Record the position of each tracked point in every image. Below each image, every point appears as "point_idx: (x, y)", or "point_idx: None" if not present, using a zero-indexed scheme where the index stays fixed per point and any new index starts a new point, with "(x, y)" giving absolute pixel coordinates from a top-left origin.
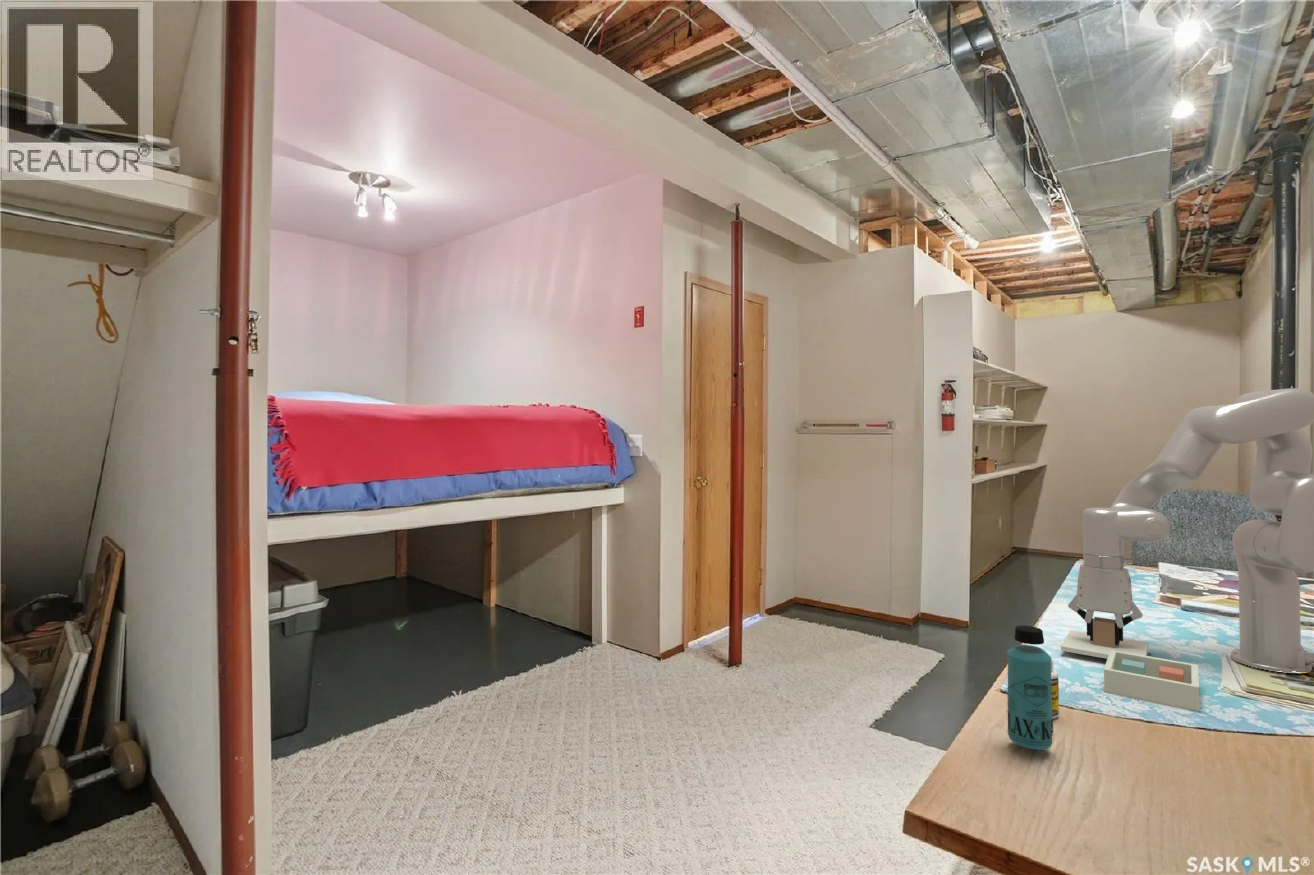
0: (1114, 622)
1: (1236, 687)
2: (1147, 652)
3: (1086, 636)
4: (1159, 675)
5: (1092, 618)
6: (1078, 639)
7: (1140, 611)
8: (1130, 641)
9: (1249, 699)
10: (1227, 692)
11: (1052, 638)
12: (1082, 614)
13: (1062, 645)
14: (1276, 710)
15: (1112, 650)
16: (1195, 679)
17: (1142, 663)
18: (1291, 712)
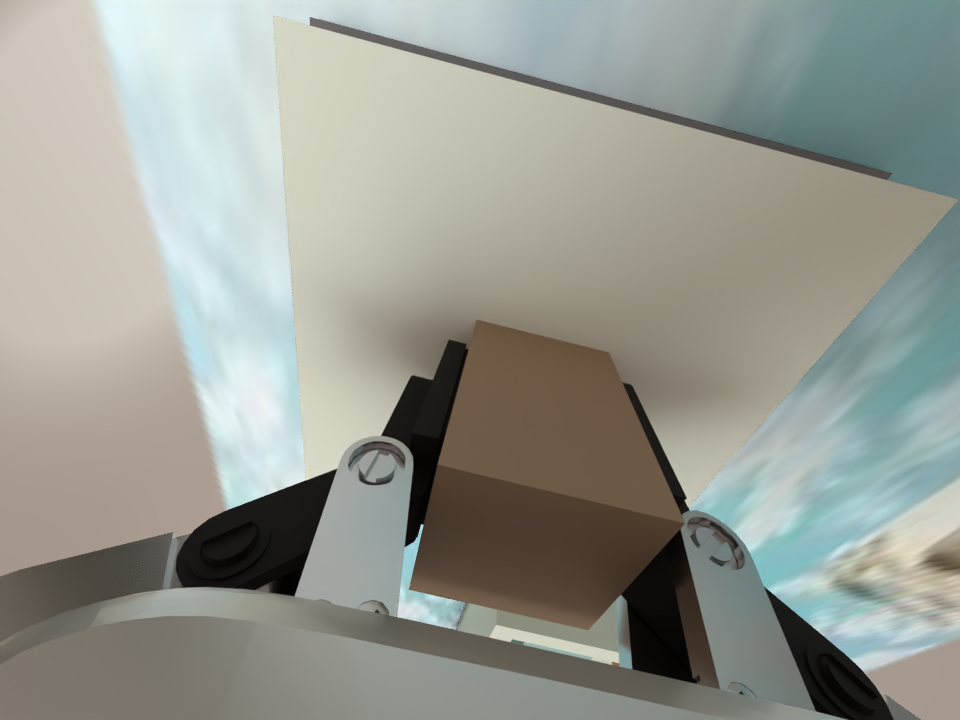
0: (609, 601)
1: (931, 536)
2: (865, 171)
3: (421, 239)
4: (612, 664)
5: (409, 508)
6: (370, 343)
7: None
8: (766, 246)
9: (863, 600)
10: (836, 573)
11: (198, 5)
12: (287, 576)
13: (309, 475)
14: (871, 637)
15: (502, 628)
16: None
17: (587, 656)
18: (908, 641)
